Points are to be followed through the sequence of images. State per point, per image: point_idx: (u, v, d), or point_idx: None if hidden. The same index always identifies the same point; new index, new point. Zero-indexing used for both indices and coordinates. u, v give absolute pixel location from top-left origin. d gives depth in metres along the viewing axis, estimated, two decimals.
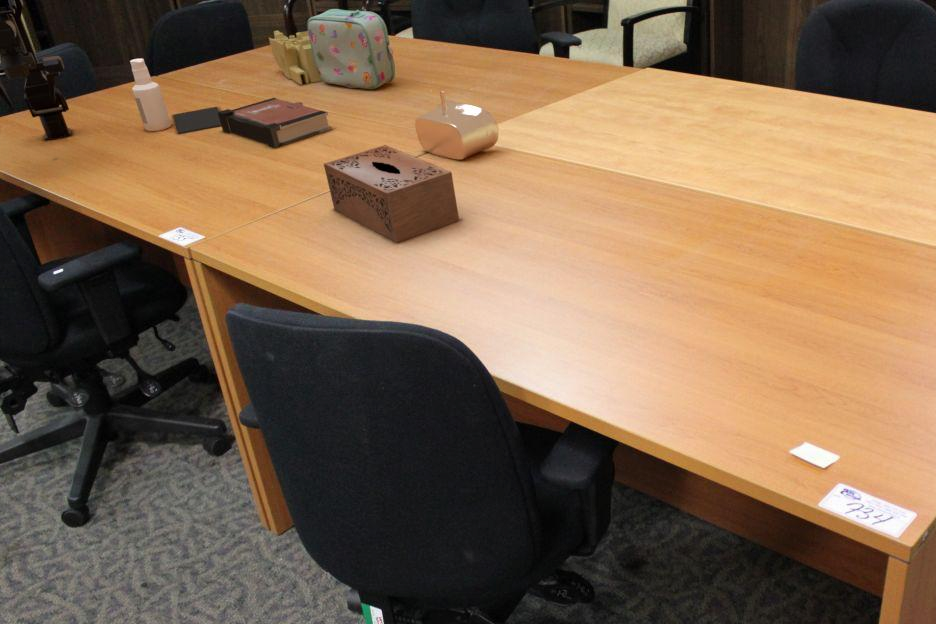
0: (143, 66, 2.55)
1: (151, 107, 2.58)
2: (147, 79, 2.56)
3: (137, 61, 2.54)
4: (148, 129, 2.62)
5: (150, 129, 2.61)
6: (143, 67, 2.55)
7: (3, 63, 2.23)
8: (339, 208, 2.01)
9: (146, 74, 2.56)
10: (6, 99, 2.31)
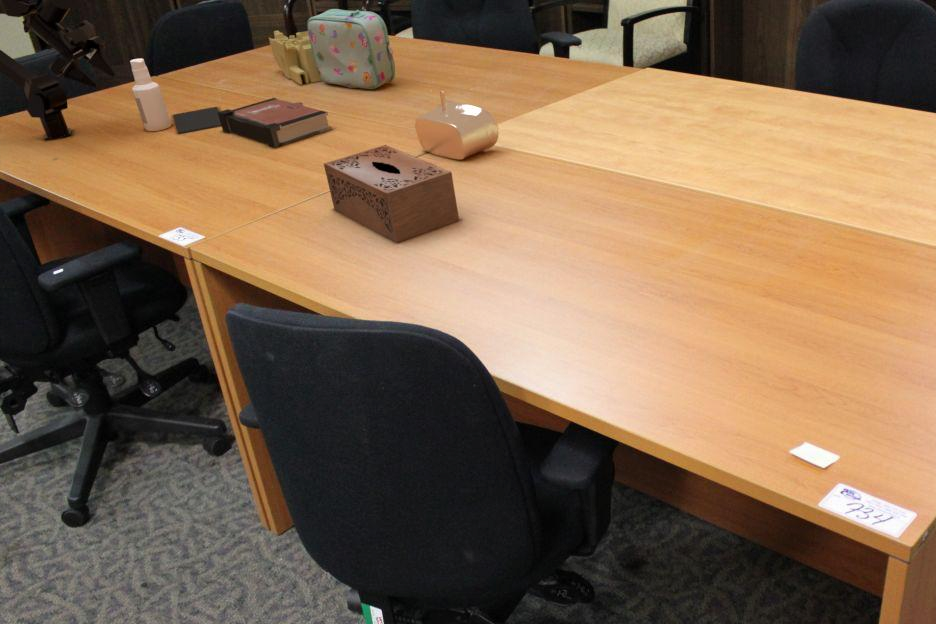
0: (143, 66, 2.55)
1: (151, 107, 2.58)
2: (147, 79, 2.56)
3: (137, 61, 2.54)
4: (148, 129, 2.62)
5: (150, 129, 2.61)
6: (143, 67, 2.55)
7: None
8: (339, 208, 2.01)
9: (146, 74, 2.56)
10: (88, 75, 2.48)
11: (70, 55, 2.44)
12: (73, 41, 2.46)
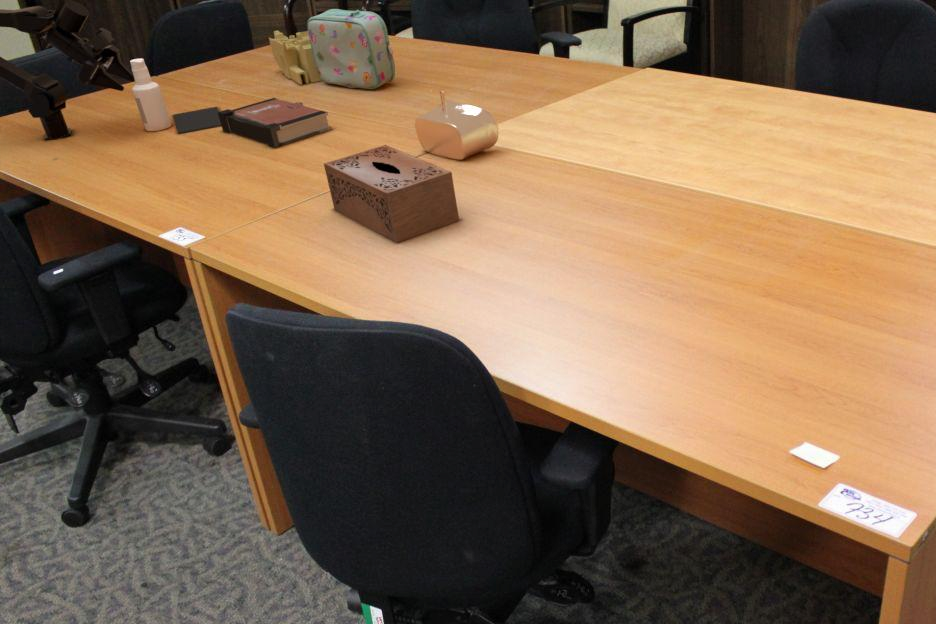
0: (143, 66, 2.55)
1: (151, 107, 2.58)
2: (147, 79, 2.56)
3: (137, 61, 2.54)
4: (148, 129, 2.62)
5: (150, 129, 2.61)
6: (143, 67, 2.55)
7: (95, 36, 2.49)
8: (339, 208, 2.01)
9: (146, 74, 2.56)
10: (114, 79, 2.52)
11: (95, 61, 2.48)
12: (94, 48, 2.50)
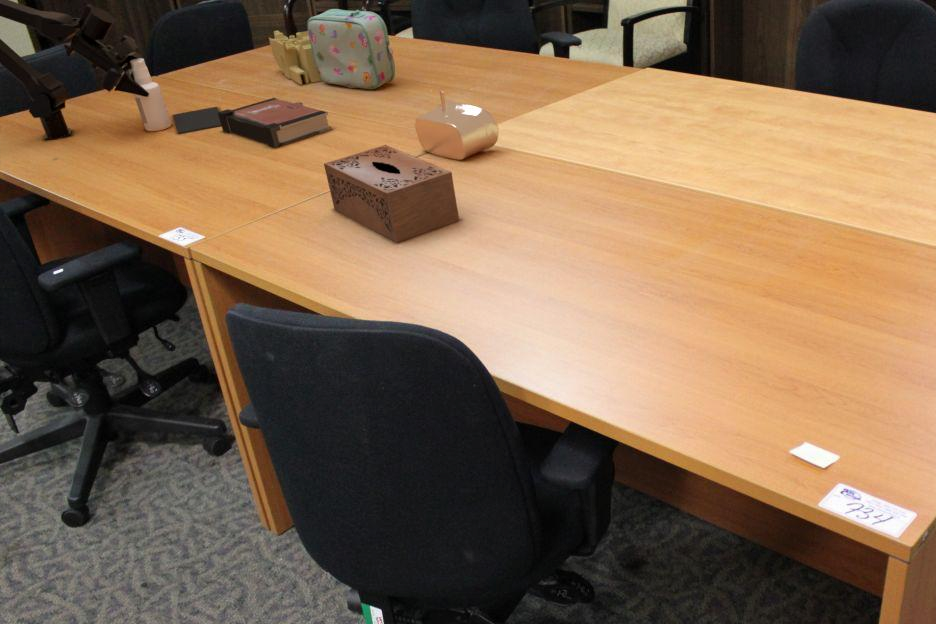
0: (143, 66, 2.55)
1: (151, 107, 2.58)
2: (147, 79, 2.56)
3: (137, 61, 2.54)
4: (148, 129, 2.62)
5: (150, 129, 2.61)
6: (143, 67, 2.55)
7: (120, 43, 2.50)
8: (339, 208, 2.01)
9: (146, 74, 2.56)
10: (139, 85, 2.54)
11: (120, 68, 2.49)
12: (119, 55, 2.51)
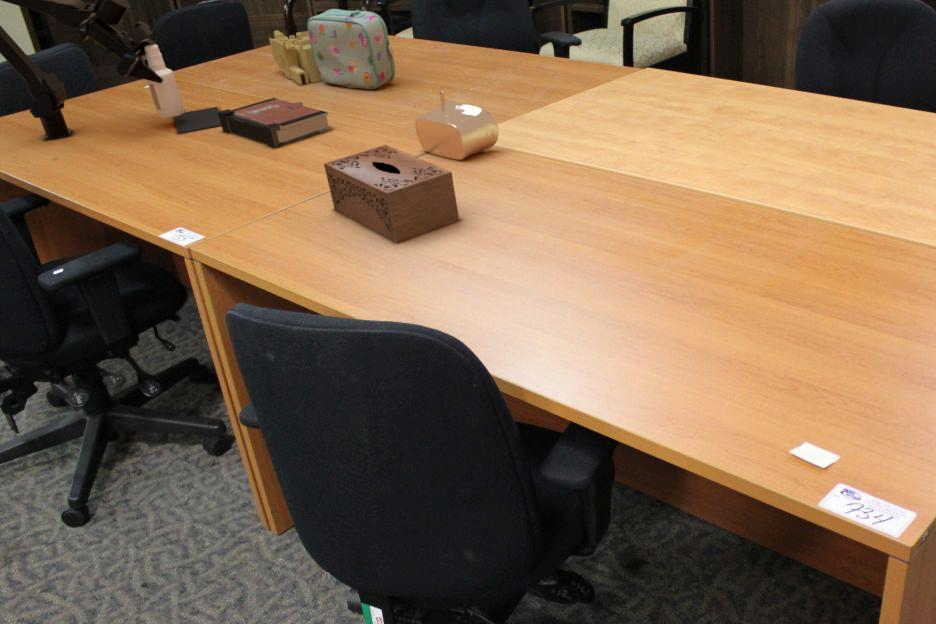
0: (157, 52, 2.55)
1: (164, 93, 2.58)
2: (161, 65, 2.56)
3: (151, 47, 2.54)
4: (161, 115, 2.61)
5: (163, 115, 2.61)
6: (157, 53, 2.55)
7: (134, 29, 2.50)
8: (339, 208, 2.01)
9: (160, 60, 2.56)
10: (153, 71, 2.54)
11: (134, 54, 2.49)
12: (133, 41, 2.51)
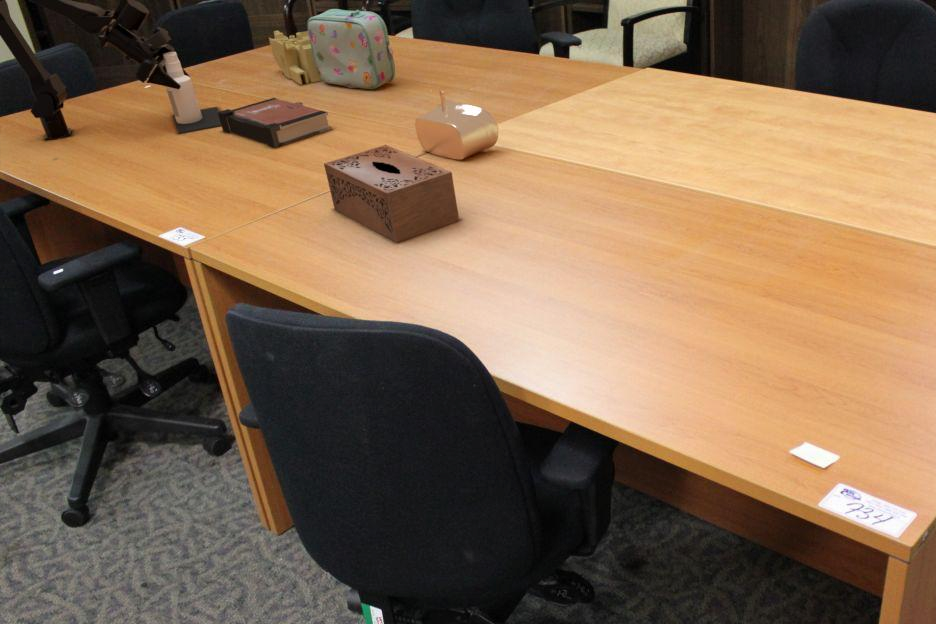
0: (176, 59, 2.57)
1: (183, 100, 2.61)
2: (179, 72, 2.59)
3: (170, 54, 2.57)
4: (179, 122, 2.64)
5: (181, 122, 2.64)
6: (175, 60, 2.57)
7: (153, 35, 2.53)
8: (339, 208, 2.01)
9: (178, 67, 2.58)
10: (171, 78, 2.56)
11: (154, 59, 2.52)
12: (152, 47, 2.54)
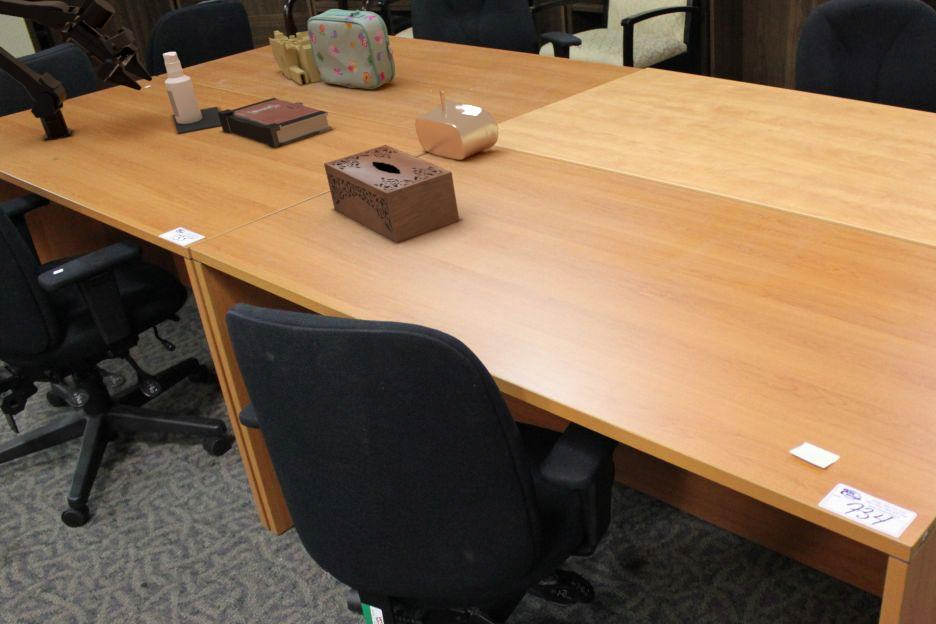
0: (176, 59, 2.57)
1: (183, 100, 2.61)
2: (179, 72, 2.59)
3: (170, 54, 2.57)
4: (179, 122, 2.64)
5: (181, 122, 2.64)
6: (175, 60, 2.57)
7: (117, 35, 2.52)
8: (339, 208, 2.01)
9: (178, 67, 2.58)
10: (133, 79, 2.55)
11: (116, 59, 2.51)
12: (115, 46, 2.53)
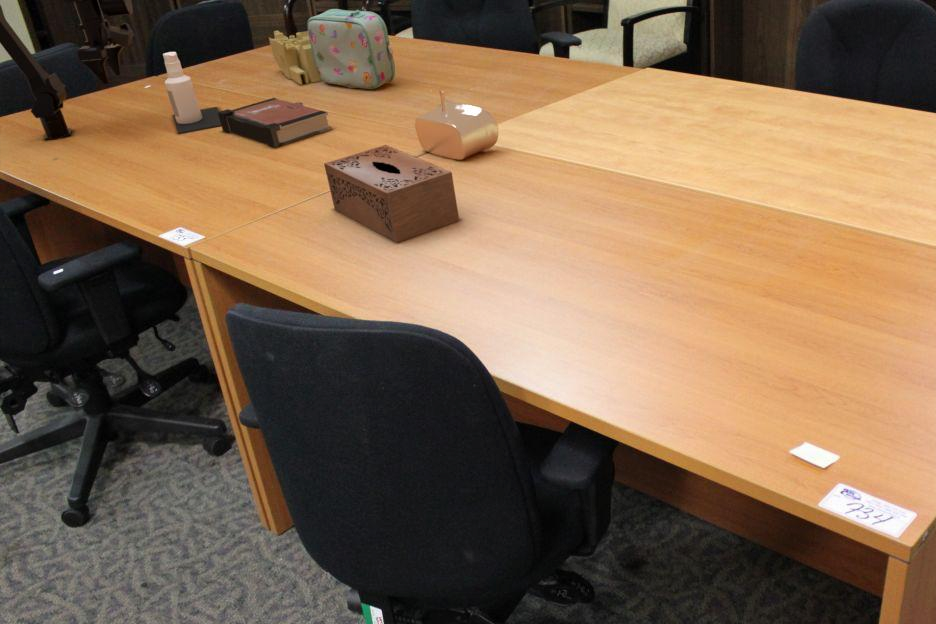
0: (176, 59, 2.57)
1: (183, 100, 2.61)
2: (179, 72, 2.59)
3: (170, 54, 2.57)
4: (179, 122, 2.64)
5: (181, 122, 2.64)
6: (175, 60, 2.57)
7: (120, 33, 2.52)
8: (339, 208, 2.01)
9: (178, 67, 2.58)
10: (106, 73, 2.54)
11: (104, 52, 2.50)
12: (111, 39, 2.52)
